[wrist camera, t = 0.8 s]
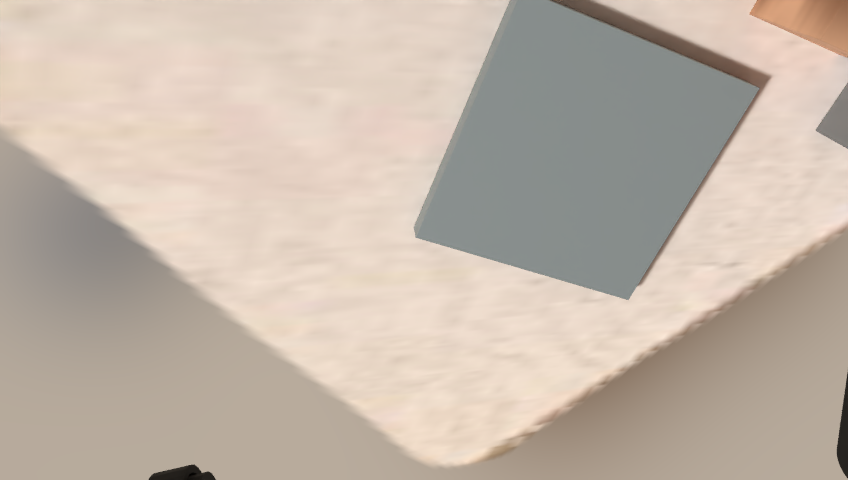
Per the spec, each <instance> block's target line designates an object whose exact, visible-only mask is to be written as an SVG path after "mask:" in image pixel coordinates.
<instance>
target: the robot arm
mask: <svg viewBox="0 0 848 480" xmlns="http://www.w3.org/2000/svg"><path fill="white" fill-rule="evenodd" d="M837 457H838V461H839V464H840V467H841V468H842V470H843V472H844V474H845V475H846V477H847V478H848V374H847V381H846V388H845V395H844V402H843V410H842V416H841V423H840V430H839V438H838V445H837ZM149 480H216V479H215V478H214V476H213V475H212V473H210V472H205V473H201V471H200V470H199V468H198V467H197V466H195V465H188V466H184V467H180V468H176V469H172V470H167V471H163V472H158V473H154V474H153V475H152V476H151V477H150V478H149Z"/></svg>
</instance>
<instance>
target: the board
mask: <svg viewBox="0 0 848 480" xmlns="http://www.w3.org/2000/svg"><path fill="white" fill-rule="evenodd" d="M759 89H760V88H759V87H757V86H755V85H753V84H751V83H749V82H747V81H745V80H742V79H740V78H738V77H735V76H733V75H730V74H728V73H726V72H723V71H721V70H718V69H716V68H714V67H711V66H709V65H706V64H704V63H702V62H699V61H697V60H694V59H692V58H690V57H687V56H685V55H682V54H680V53H678V52H675V51H673V50H670V49H668V48H666V47H663V46H661V45H658V44H656V43H654V42H651V41H649V40H646V39H644V38H642V37H639V36H637V35H634V34H632V33H630V32H627V31H625V30H622V29H620V28H618V27H615V26H613V25H610V24H608V23H606V22H603V21H601V20H598V19H596V18H594V17H591V16H589V15H586V14H584V13H582V12H579V11H577V10H574V9H572V8H570V7H567V6H565V5H562V4H560V3H558V2H555V1H553V0H510V2H509V4H508V7H507V9H506V12H505V14H504V16H503V19H502V21H501V23H500V26H499V28H498V30H497V33H496V35H495V37H494V40H493V42H492V45H491V47H490V49H489V52H488V54H487V56H486V59H485V61H484V63H483V66H482V68H481V70H480V73H479V75H478V78H477V80H476V82H475V85H474V87H473V89H472V92H471V94H470V96H469V99H468V101H467V104H466V106H465V108H464V111H463V113H462V115H461V118H460V120H459V122H458V125H457V127H456V129H455V132H454V134H453V137H452V139H451V141H450V144H449V146H448V148H447V151H446V153H445V155H444V158H443V160H442V162H441V165H440V167H439V170H438V172H437V174H436V177H435V179H434V181H433V184H432V186H431V188H430V191H429V193H428V195H427V198H426V200H425V203H424V205H423V207H422V210H421V212H420V214H419V217H418V219H417V221H416V224H415V226H414V230H415V236H416V238H419V239H423V240H426V241H430V242H433V243H436V244H440V245H443V246H447V247H450V248H453V249H457V250H460V251H464V252H467V253H470V254H474V255H477V256H481V257H484V258H487V259H491V260H494V261H498V262H501V263H504V264H508V265H511V266H515V267H518V268H521V269H525V270H528V271H532V272H535V273H538V274H542V275H545V276H549V277H552V278H555V279H559V280H562V281H566V282H569V283H572V284H576V285H579V286H583V287H586V288H589V289H593V290H596V291H600V292H603V293H606V294H610V295H613V296H617V297H620V298H623V299H627V300H629V298H630V296H631V295H632V293H633V292H634V290H635V288H636V287H637V285H638V284H639V282H640V280H641V279H642V277H643V276H644V274H645V272H646V271H647V269H648V267H649V266H650V264H651V263H652V261H653V259H654V258H655V256H656V255H657V253H658V251H659V250H660V248H661V247H662V245H663V243H664V242H665V240H666V238H667V237H668V235H669V234H670V232H671V230H672V229H673V227H674V226H675V224H676V222H677V221H678V219H679V218H680V216H681V214H682V213H683V211H684V209H685V208H686V206H687V205H688V203H689V201H690V200H691V198H692V197H693V195H694V193H695V192H696V190H697V189H698V187H699V185H700V184H701V182H702V180H703V179H704V177H705V176H706V174H707V172H708V171H709V169H710V168H711V166H712V164H713V163H714V161H715V160H716V158H717V156H718V155H719V153H720V151H721V150H722V148H723V147H724V145H725V143H726V142H727V140H728V139H729V137H730V135H731V134H732V132H733V131H734V129H735V127H736V126H737V124H738V122H739V121H740V119H741V118H742V116H743V114H744V113H745V111H746V110H747V108H748V106H749V105H750V103H751V101H752V100H753V98H754V97H755V95H756V93H757V92H758V90H759Z"/></svg>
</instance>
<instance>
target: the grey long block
mask: <svg viewBox="0 0 848 480" xmlns="http://www.w3.org/2000/svg"><path fill="white" fill-rule="evenodd" d="M816 131H817V132H819V133H821V134H823V135H824V136H826V137H828V138H830V139H831V140H833V141H835V142H837V143H839V144H840V145H842V146H844V147H846V148H847V149H848V84H847V85H846V86H845V88H844V89H843V91H842V92H841V94H840V95H839V97H838V98H837V100H836V101H835V103H834V104H833V106H832V107H831V109H830V110H829V112H828V113H827V114H826V116H825V117H824V119H823V120H822V122H821V123H820V125H819V126H818V128H817V129H816Z"/></svg>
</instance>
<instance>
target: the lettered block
mask: <svg viewBox="0 0 848 480" xmlns="http://www.w3.org/2000/svg"><path fill="white" fill-rule="evenodd" d="M750 15H752V16H755V17H757V18H759V19H761V20H764V21H766V22H768V23H770V24H773V25H775V26H777V27H779V28H781V29H784V30H786V31H788V32H790V33H793V34H795V35H797V36H799V37H801V38H804V39H806V40H808V41H810V42H813V43H815V44H817V45H819V46H821V47H824V48H826V49H828V50H830V51H833V52H835V53H837V54H839V55H842V56H845V57H847V58H848V0H757V2H756V3H755V5H754V7H753V9H752V10H751V12H750Z"/></svg>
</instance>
